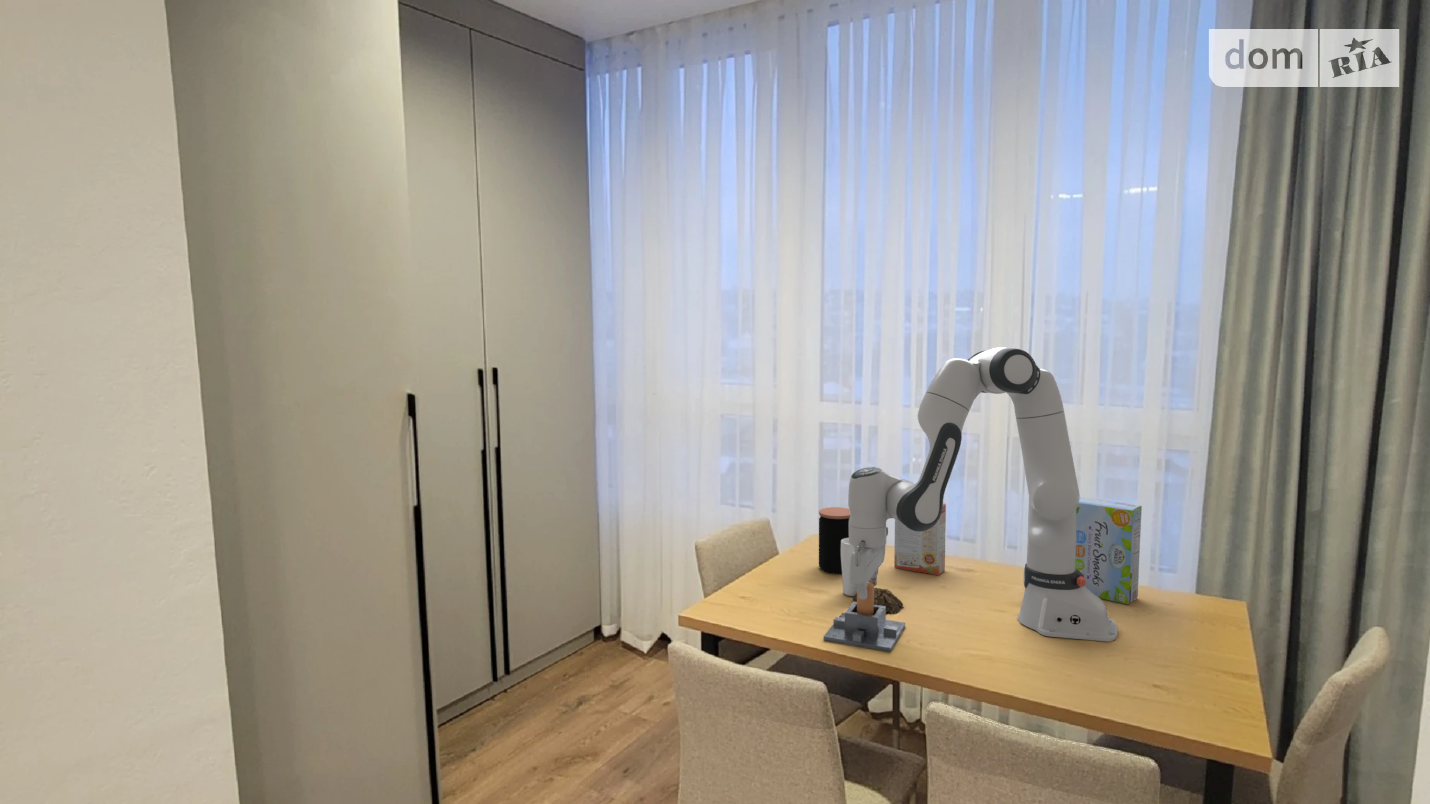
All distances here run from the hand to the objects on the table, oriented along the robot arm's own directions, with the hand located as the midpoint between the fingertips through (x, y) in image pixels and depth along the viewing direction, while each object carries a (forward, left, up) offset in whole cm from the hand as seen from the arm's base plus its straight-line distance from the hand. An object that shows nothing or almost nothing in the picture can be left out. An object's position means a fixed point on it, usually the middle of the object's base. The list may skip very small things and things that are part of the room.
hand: (868, 591), depth 186 cm
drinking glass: (+11, -25, -11) cm, 29 cm away
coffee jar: (+21, -43, -11) cm, 49 cm away
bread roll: (+2, -20, -11) cm, 23 cm away
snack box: (-49, -53, -11) cm, 73 cm away
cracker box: (-2, -53, -11) cm, 54 cm away
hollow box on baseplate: (+1, 0, -11) cm, 11 cm away
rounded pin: (+1, 0, -10) cm, 10 cm away
